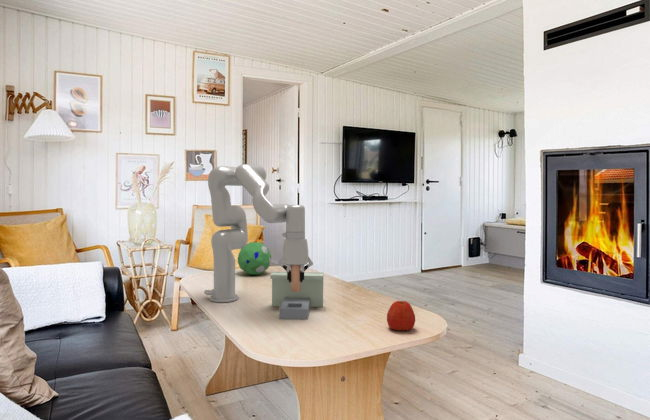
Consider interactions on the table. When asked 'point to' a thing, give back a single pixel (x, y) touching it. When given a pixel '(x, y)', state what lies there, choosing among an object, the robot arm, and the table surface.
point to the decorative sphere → (254, 258)
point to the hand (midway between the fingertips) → (295, 281)
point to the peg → (295, 278)
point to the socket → (294, 308)
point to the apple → (401, 316)
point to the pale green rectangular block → (309, 289)
